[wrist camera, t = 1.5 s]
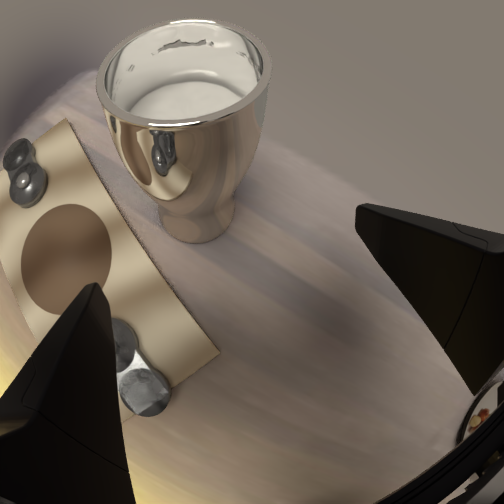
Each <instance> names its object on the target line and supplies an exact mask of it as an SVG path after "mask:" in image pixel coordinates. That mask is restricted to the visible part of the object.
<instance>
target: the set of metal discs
mask: <svg viewBox="0 0 504 504" xmlns="http://www.w3.org/2000/svg"><path fill="white" fill-rule="evenodd" d="M35 155H36V150H35V147H34V146H33V145H32V144H31V143H30V141H29V140H28V139H25V138H23V139H19V140H17V141H15V142H14V143H13V144H12V145H11V146H10V147H9V148H8V150H7V151H6V153H5V156H4V159H3V167H4V169H5V170H6V171H7V172H8V176H9V179H10V188H9V194H10V198H11V200H12V201H13V202H15V203H16V204H17V205H19V206H20V207H22V208H31V207H33V206H35V205H36V204H37V203H38V202H39V201H40V200H41V199H42V198H43V196H44V194H45V192H46V190H47V187H48V175H47V173H46V171H45V170H44V169H43V168H42V167H41V166H40V165H39V164H38V163H37V160H36V158H35ZM111 318H112V317H111ZM112 327H113V334H114V341H115V351H116V371H117V385H118V391H119V394H120V397H121V400H122V402H123V403H124V405H125V406H126V407H127V408H128V409H129V410H130V411H132V412H133V413H135V414H137V415H140V416H145V417H151V416H155V415H158V414H159V413H161V412H162V411H163V410H164V409H165V408H166V406H167V404H168V402H169V400H170V398H171V386H170V383H169V381H168V379H167V377H166V376H165V375H164V374H163V373H162V372H161V371H160V370H158V369H156V368H154V367H153V366H152V364H151V363H150V362H149V361H148V359H147V358H146V357H145V355H144V354H143V353H142V351H141V350H140V348H139V340H138V337H137V334H136V332H135V331H134V329H133V328H132V327H131V326H130V325H129V324H128V323H127V322H125V321H124V320H121V319H119V318H112Z"/></svg>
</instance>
